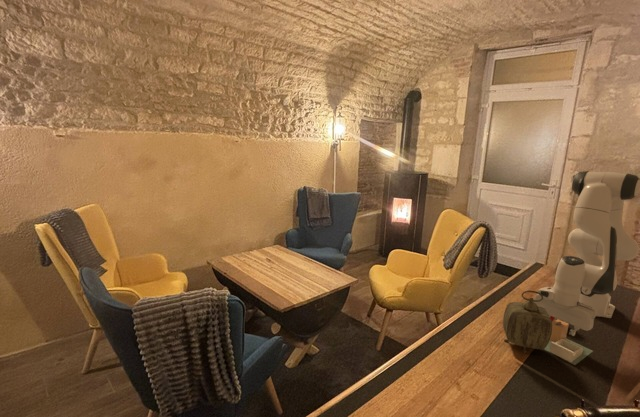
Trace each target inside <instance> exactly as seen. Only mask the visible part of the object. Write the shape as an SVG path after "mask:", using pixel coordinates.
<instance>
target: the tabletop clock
mask: <svg viewBox="0 0 640 417" xmlns="http://www.w3.org/2000/svg"><path fill="white" fill-rule="evenodd" d="M526 293H533V294H536V295H537V294H539V295H540V296H541V297H542V298H541V299H540V300H534V298H533V297H530V298H527V297H525V296H524V294H526ZM521 297H522V298H523V299H524V300H526V301H524V302H518V301H511V302H508V304H506V307H505V308H504V309H505V310H504V313H503V317H502V318H503V320H502V327H503V330H504V334H505V336H506V338H505V339H504V340H503V341H504V342H505V343H511V344H514V345H517V346H520V347H523V349H522V350H521V352H522V353H524V354H525V353H527V350H526V348H529V349H534V350H544V349H545V347H546V346H547V345H548V343H549V341H550V337H551V334H552V320H551V318H550V316H549V314H548V313H547V311H546V310H545V308H543V307H541V306H537V304H536V303H534V302H539V301H541V300H542V299H543V296H542V294H541V293H539V292H538V291H537V290H525V291H523V292H522V293H521Z"/></svg>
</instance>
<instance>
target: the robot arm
mask: <svg viewBox="0 0 640 417" xmlns="http://www.w3.org/2000/svg"><path fill="white" fill-rule="evenodd" d="M571 189H572V191H573V193H574V194H576V195H577V196H578V198H577V201H576V203H575V206H574V210H573V216H572V221H573V224H574V225H575V226H576V227H577V228H574V229H572V230H571V231H570V233H568V234H569V235H568V236H567V242H568V244H569V246H570V247H571V248H572V249H573V250H574V251H575V252H576V254H577V256H578V257H577V256H575V255H566V256H562V257H561V259H560V260H559V263H557V265H556V266H555V272H554V284H553V286H543V287H541V288H539V289H538V290H537V292H539V293H541V294H542V296H543V299H542V300H541V301H539V302H534V303H536V304H537V306H541V307H543V308H545V310H546V311H547V313H548V314H549V315H550V316H553V317H555V318H557V319H559V320H561V321H563V322H566V323H568V324H569V325H571V326H573V329H570V330H569V331H568V332H569V333H568V335H570V336H572V337H575V335H576V332H577V331H579V330H580V329H581V330H584V331H586V332H588V331H590V330H592V329H593V328H594V322H595V319H596V317H599V318H600V317H602V318H607V319H611V318H612V317H613V315H614V311H615V309H616V306H615V305H613V304H612V303H611V299H612V296H611V295H610V293H613V292H614V291H615V290H616V288H617V285H618V277H617V276H618V275H617V260H620V261H628V262H629V261H632V260H634V259H635V258H637V256H638V255H639V253H640V245H639V243H638V241H636V240H635V239H634V238H633V237H631V236H630V235H629V234H628V232H627V231H626V229H625V227H624V224H623V213H624V211H623V210H624V206H625V204H624V203H625V200H626V201H627V200H628V201H629V200H633V199H634V198H636V197H637V196H638V194H639V193H640V178H639V176H638V175H635V174H632V173H621V172H614V171H589V170H588V171H587V170H586V171H579V172H577V173H576V174H575V175H574V176H573V178H572V181H571ZM599 256H601V257H602V260H601V259H600V257H599ZM541 298H542V297H541V296H540V295H539V294H537V293H536V295H534V298H533V300H540V299H541Z"/></svg>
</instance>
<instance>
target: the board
mask: <svg viewBox="0 0 640 417" xmlns="http://www.w3.org/2000/svg"><path fill="white" fill-rule="evenodd" d="M565 340H566V341H568V342H571V343H573V344H575V345H577V346H579V347H581V348H583V352H582V355H580V356H579V357H578V358H576V359H575V360H574V361H572V362H569V361H567V360H565V359H563V358H561V357H559V356H557V355H555V354H553V353H551V352H550V351H549V350H550V345H551V342H554V341H552V340H550V341H549V343H548V345H547V346H546V347H545V349H543V350H544V351H546V352H548V353H550V354H552V355H554V356H556V357H558V358H560V359H561V360H564V361H565V362H567V363H570V364H571V365H574V366H577V364H579V363H580V362H581V361H583V360H584V359H585V358H586V357H587V356H589V355H591V353H593V352H594V350H592V349H590V348H588V347H585V346H583V345H582V344H579V343H577V342H575V341H573V340H570V339H568V338H566V339H565ZM554 343H555V342H554ZM563 347H564V346H563ZM565 348H566V347H565ZM567 349H568V348H567ZM569 350H570V349H569ZM571 351H572V350H571ZM573 352H574V351H573Z"/></svg>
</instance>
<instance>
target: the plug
mask: <svg viewBox="0 0 640 417" xmlns="http://www.w3.org/2000/svg"><path fill="white" fill-rule="evenodd" d="M569 325H570V324H569V323H567V322H564V321H562V320H560V319H557V320H555V321H554V322H552V334H551V337H550V340H552V341H554V342H557V341H558V340H560V339H564V340H565V339H567V334H568V332H569V331H568V330H569Z"/></svg>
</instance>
